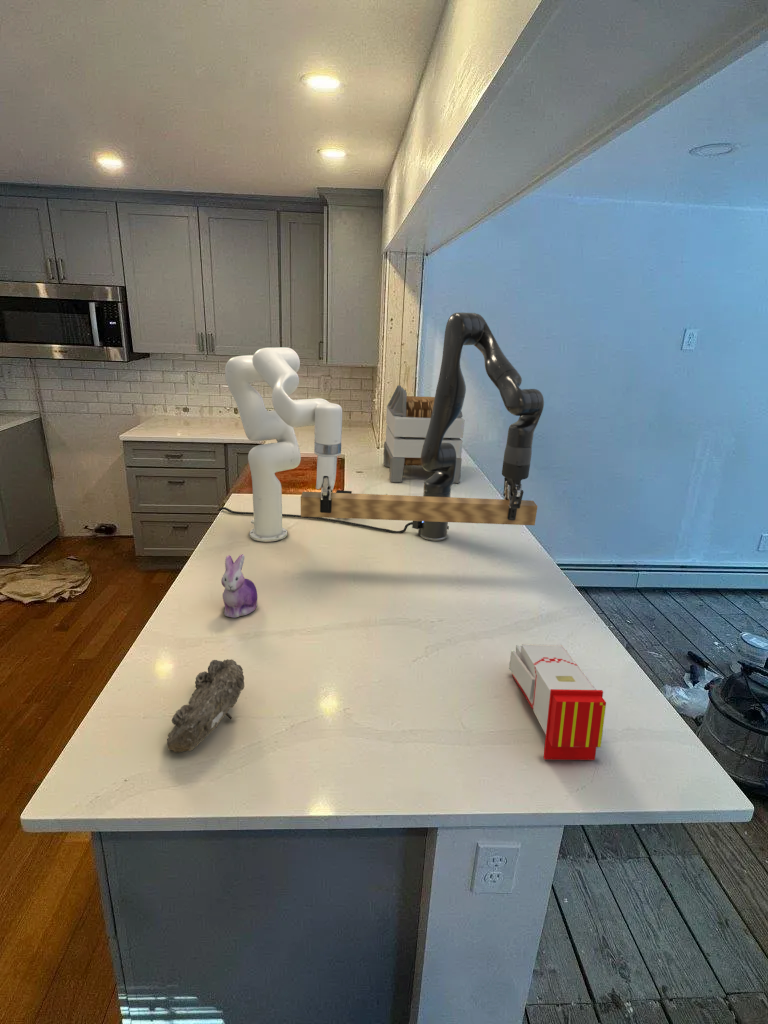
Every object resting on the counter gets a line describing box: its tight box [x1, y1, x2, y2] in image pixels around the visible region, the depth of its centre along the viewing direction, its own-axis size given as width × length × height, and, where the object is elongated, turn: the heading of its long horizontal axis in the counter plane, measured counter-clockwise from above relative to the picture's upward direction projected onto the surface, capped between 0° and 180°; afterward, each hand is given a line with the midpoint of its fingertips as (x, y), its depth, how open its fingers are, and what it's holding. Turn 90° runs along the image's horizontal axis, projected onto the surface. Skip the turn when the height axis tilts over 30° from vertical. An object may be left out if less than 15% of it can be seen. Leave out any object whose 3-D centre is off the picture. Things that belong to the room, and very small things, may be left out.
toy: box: [508, 643, 607, 761], centre depth 112 cm, size 12×13×30 cm
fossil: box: [166, 658, 245, 754], centre depth 106 cm, size 22×10×15 cm
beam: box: [300, 491, 538, 526], centre depth 165 cm, size 68×5×6 cm, turn 91°
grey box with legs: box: [383, 384, 465, 484], centre depth 268 cm, size 34×33×41 cm
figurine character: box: [335, 489, 353, 494], centre depth 215 cm, size 7×8×15 cm
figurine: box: [220, 553, 258, 618], centre depth 143 cm, size 9×10×15 cm
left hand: (326, 508), depth 165 cm, fingers closed on beam, 4 cm apart
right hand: (509, 516), depth 166 cm, fingers closed on beam, 5 cm apart
